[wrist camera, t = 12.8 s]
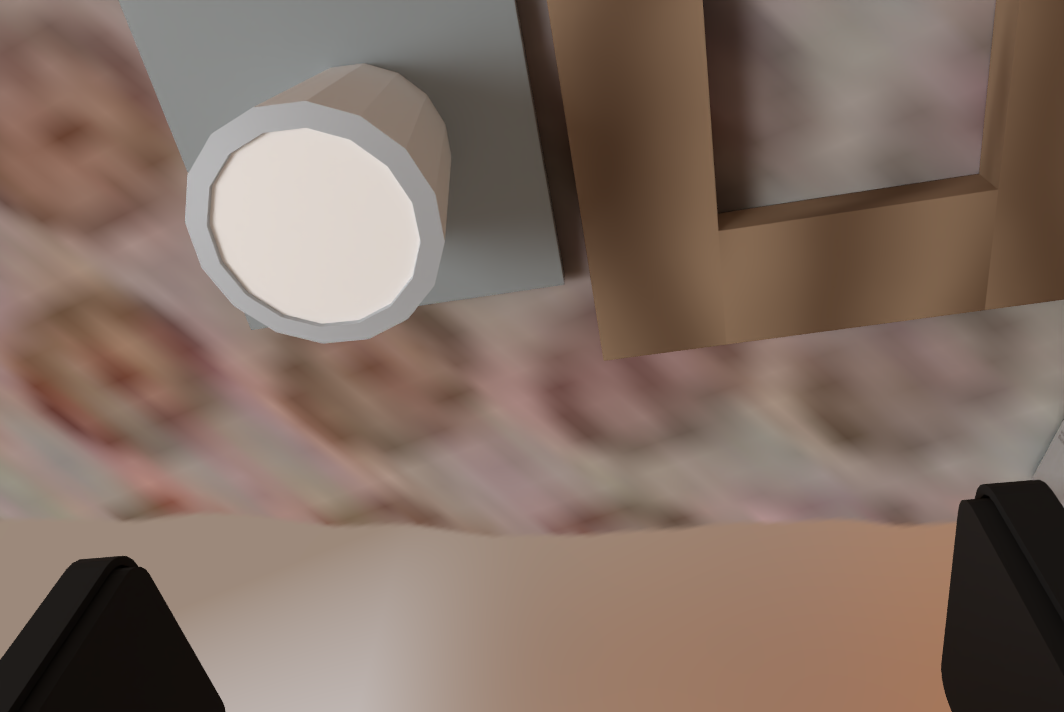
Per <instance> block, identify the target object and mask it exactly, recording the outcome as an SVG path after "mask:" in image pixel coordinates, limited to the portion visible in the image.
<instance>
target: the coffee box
mask: <svg viewBox="0 0 1064 712" xmlns="http://www.w3.org/2000/svg"><path fill="white" fill-rule="evenodd" d="M1032 479H1033V480H1041V481H1043V482H1045V483H1046V484H1047V485H1048V486H1049V487H1050V488H1051V489H1052V491H1053V492H1054V494H1055V495H1056V497H1057V498H1058V500H1059V501H1060V503H1061V504H1062V505H1063V507H1064V420H1063V421H1062V423H1061V425H1060V427H1059V429H1058V431H1057V433H1056V435H1055V437H1054V438H1053V440H1052V442H1051V444H1050V446H1049V448H1048V449H1047V451H1046V453H1045V455H1044V457H1043V458H1042V460H1041V462H1040V464H1039V466H1038V468H1037V470H1036V471H1035V473H1034V475H1033V477H1032Z"/></svg>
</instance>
